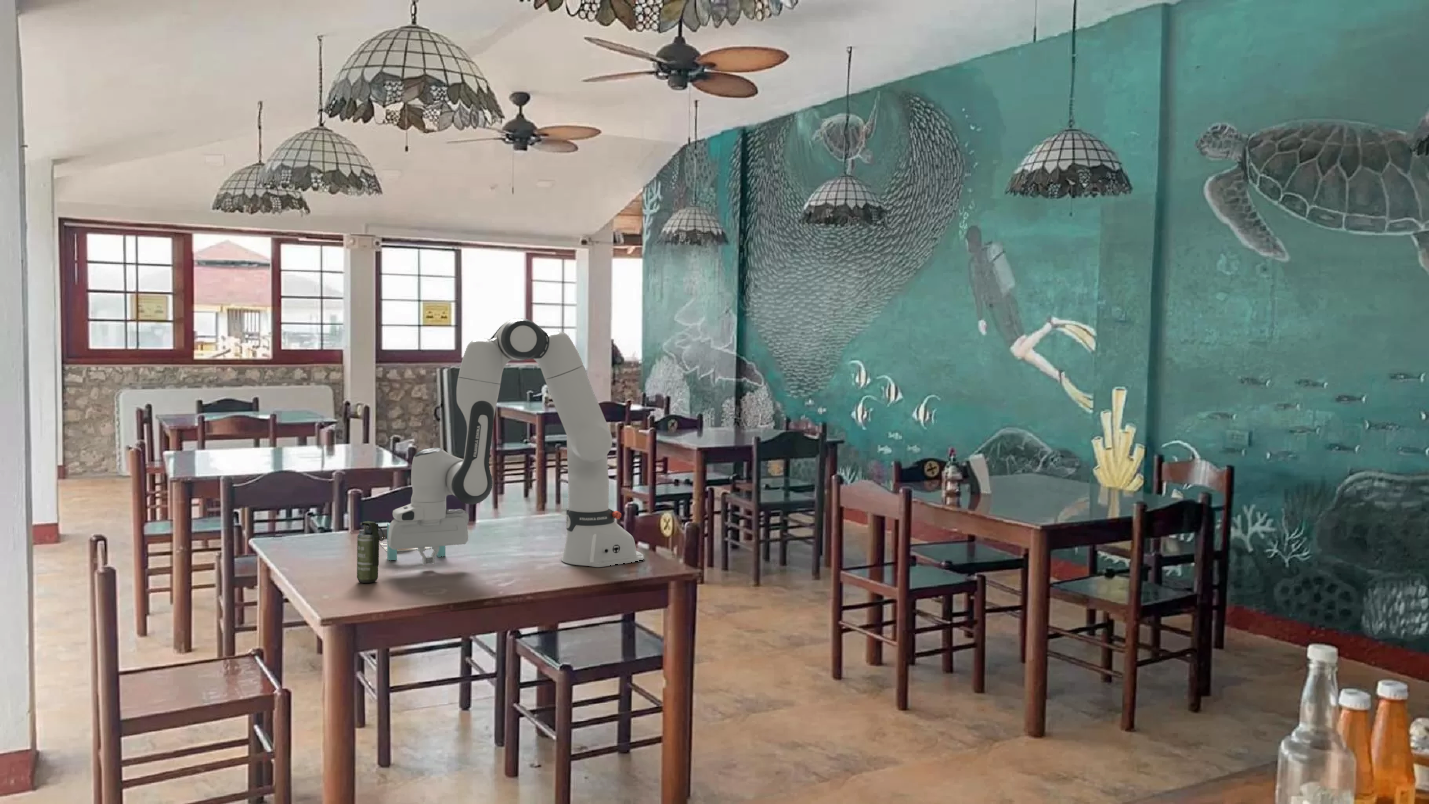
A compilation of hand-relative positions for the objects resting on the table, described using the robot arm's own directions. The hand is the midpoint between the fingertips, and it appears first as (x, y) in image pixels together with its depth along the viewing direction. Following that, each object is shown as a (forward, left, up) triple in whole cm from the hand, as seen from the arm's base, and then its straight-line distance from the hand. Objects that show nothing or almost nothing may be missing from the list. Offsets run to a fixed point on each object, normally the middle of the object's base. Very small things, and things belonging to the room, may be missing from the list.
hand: (428, 563), depth 284 cm
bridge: (0, -15, -2) cm, 15 cm away
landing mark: (0, -31, -2) cm, 31 cm away
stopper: (0, -46, -2) cm, 46 cm away
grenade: (+16, +8, -2) cm, 18 cm away
